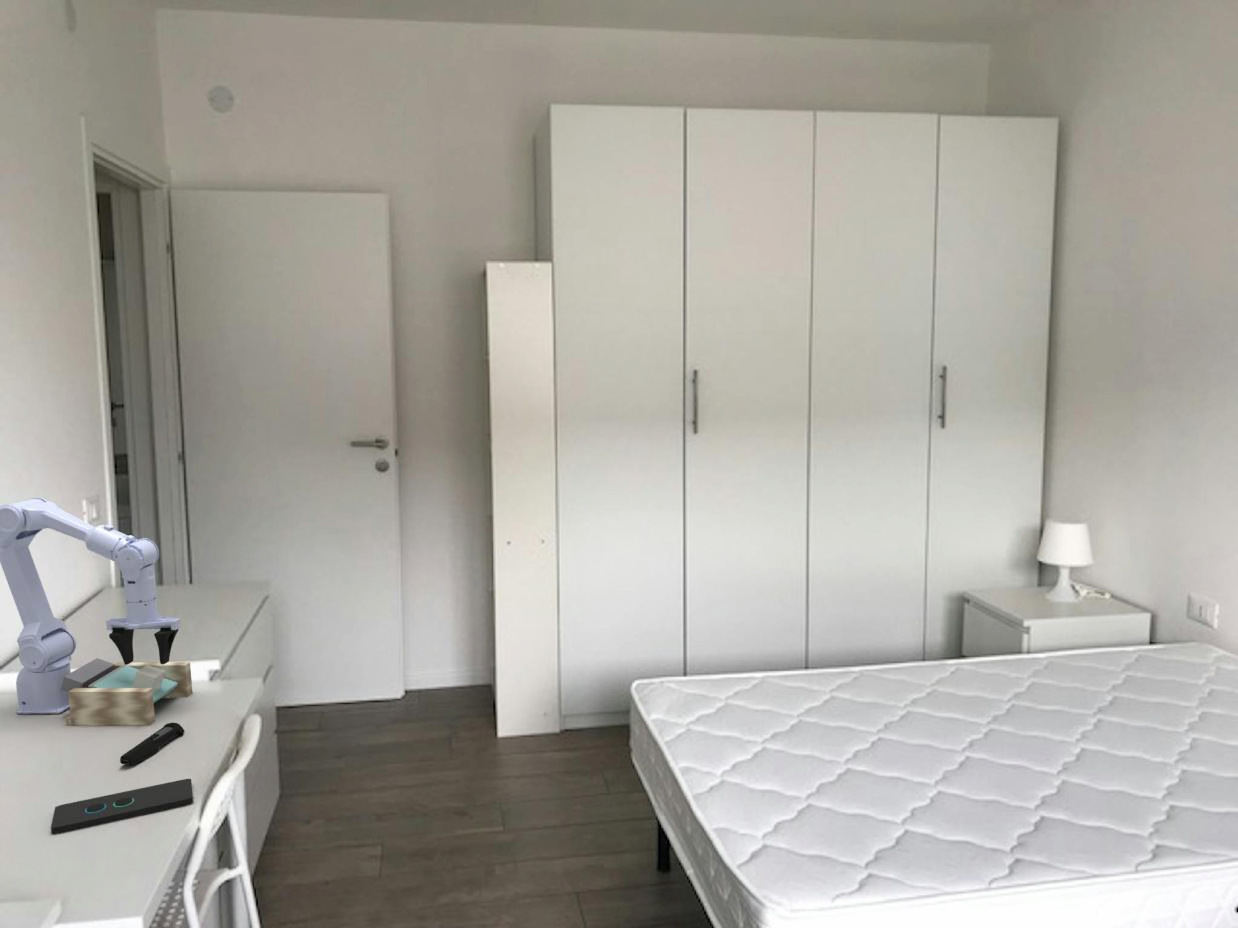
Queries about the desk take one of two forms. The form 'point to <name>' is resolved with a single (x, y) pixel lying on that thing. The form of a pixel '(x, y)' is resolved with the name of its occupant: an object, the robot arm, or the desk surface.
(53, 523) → the robot arm
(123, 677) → the trapdoor
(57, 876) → the desk surface
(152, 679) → the gray cube
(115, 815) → the smart home device
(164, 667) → the rail stand
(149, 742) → the electric trimmer
